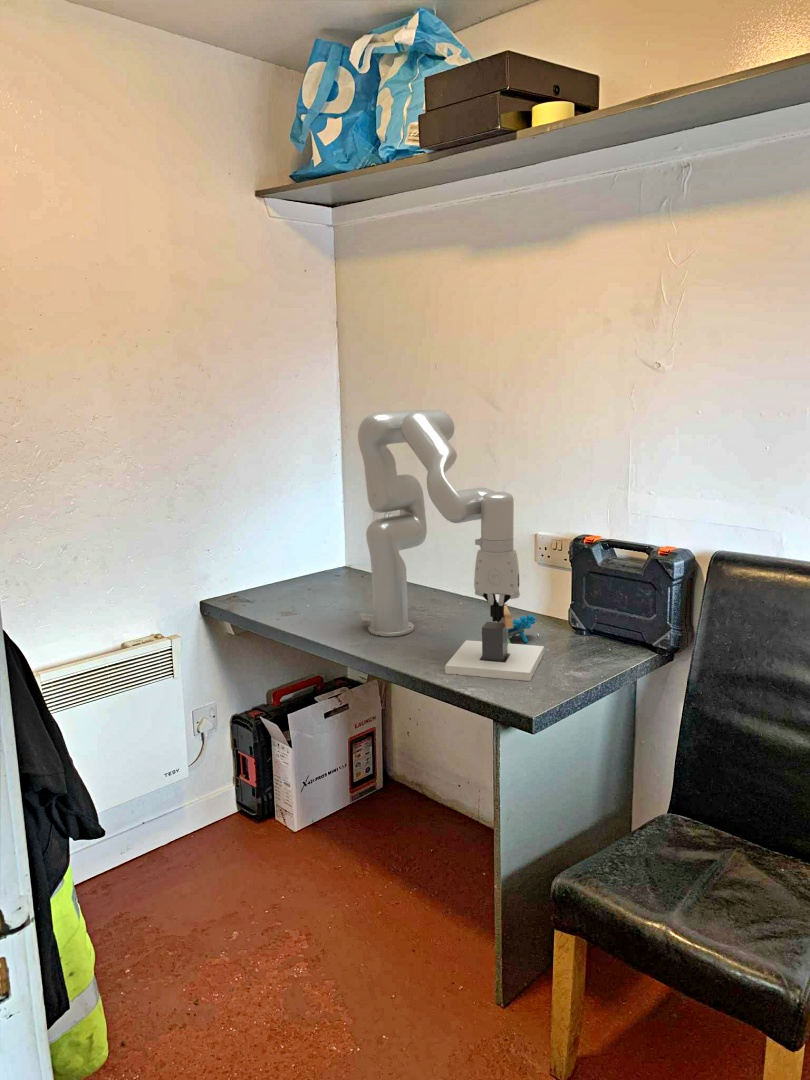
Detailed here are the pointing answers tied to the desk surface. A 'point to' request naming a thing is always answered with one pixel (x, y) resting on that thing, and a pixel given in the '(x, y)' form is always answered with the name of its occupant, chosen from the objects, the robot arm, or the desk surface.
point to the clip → (507, 617)
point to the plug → (494, 642)
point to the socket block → (516, 667)
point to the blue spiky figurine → (521, 627)
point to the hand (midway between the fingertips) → (497, 619)
